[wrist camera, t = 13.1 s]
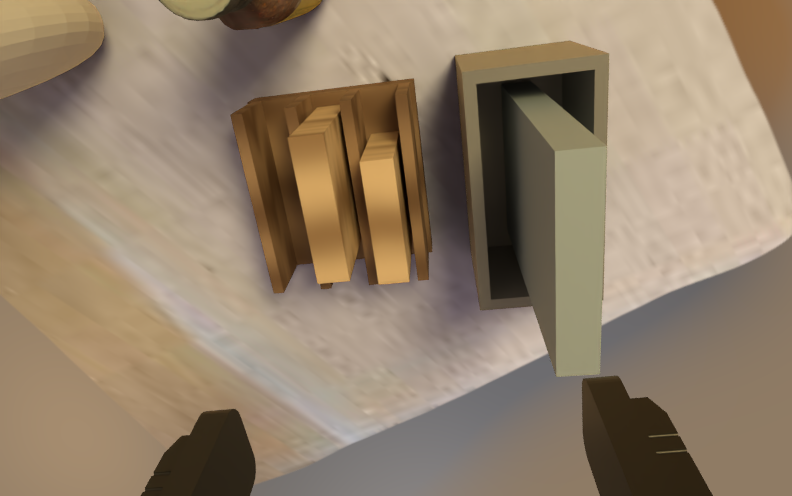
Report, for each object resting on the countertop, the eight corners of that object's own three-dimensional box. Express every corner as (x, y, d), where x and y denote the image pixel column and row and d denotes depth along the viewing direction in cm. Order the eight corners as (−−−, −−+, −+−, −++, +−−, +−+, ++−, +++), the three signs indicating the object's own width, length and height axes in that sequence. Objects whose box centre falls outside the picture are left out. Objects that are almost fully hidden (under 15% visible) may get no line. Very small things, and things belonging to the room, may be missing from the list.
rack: (254, 98, 45) (226, 115, 39) (413, 78, 44) (411, 92, 37) (290, 256, 51) (270, 293, 44) (432, 242, 49) (432, 279, 43)
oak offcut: (317, 107, 43) (287, 137, 34) (345, 104, 43) (323, 133, 34) (339, 227, 47) (317, 283, 38) (365, 225, 47) (349, 281, 38)
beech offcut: (371, 134, 44) (359, 162, 36) (399, 130, 44) (393, 158, 36) (386, 239, 47) (378, 284, 40) (412, 237, 47) (409, 281, 40)
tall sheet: (501, 84, 43) (554, 151, 24) (530, 80, 42) (606, 145, 24) (507, 230, 47) (556, 376, 29) (533, 227, 47) (599, 373, 29)
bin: (454, 55, 43) (461, 72, 34) (570, 40, 42) (609, 53, 33) (470, 252, 50) (480, 310, 40) (570, 243, 49) (603, 300, 40)
